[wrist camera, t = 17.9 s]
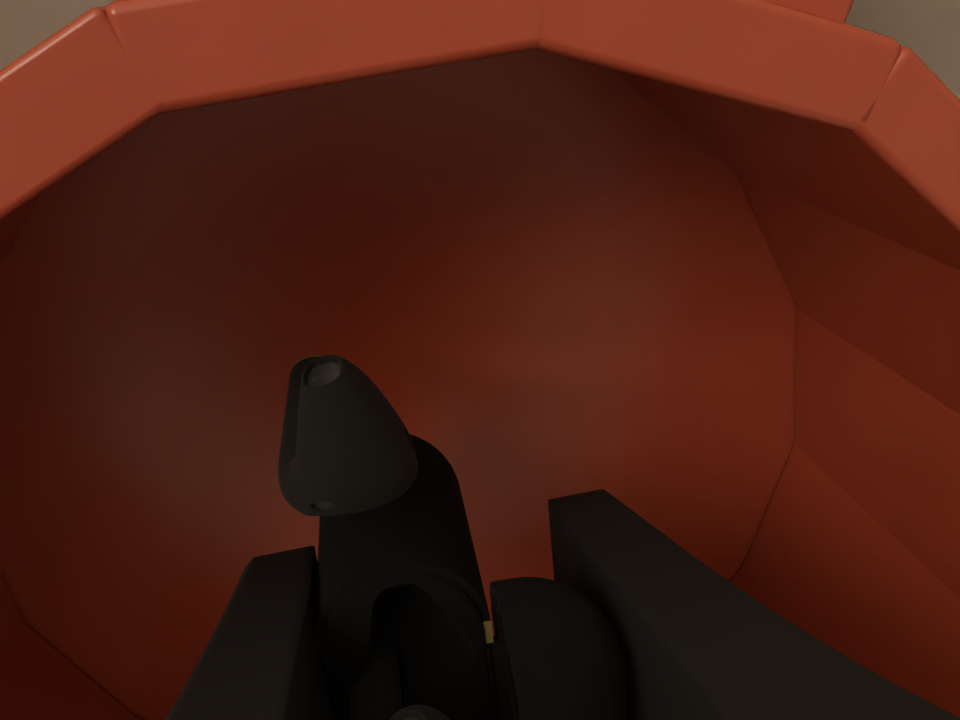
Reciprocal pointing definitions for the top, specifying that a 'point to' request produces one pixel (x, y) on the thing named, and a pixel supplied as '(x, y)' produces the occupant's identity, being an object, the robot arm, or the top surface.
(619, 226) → the pan
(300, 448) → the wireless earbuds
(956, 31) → the top surface
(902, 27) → the top surface
